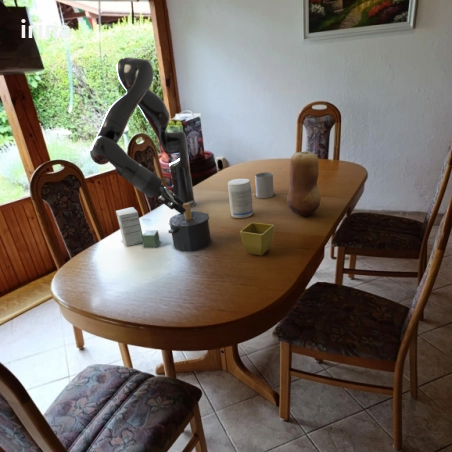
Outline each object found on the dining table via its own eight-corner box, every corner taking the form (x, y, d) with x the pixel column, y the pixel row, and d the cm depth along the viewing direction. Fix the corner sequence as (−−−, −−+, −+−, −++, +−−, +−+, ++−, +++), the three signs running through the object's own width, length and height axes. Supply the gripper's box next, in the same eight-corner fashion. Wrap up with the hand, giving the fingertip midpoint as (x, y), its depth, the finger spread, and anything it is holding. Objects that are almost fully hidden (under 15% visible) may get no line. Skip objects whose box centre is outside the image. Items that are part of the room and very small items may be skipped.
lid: (160, 225, 147) (157, 207, 144) (188, 212, 157) (185, 195, 153) (190, 231, 139) (187, 213, 135) (217, 217, 148) (215, 200, 145)
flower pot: (263, 259, 135) (262, 234, 130) (241, 255, 139) (239, 231, 134) (275, 249, 141) (274, 224, 136) (253, 245, 145) (251, 222, 141)
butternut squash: (326, 212, 167) (328, 149, 154) (308, 222, 159) (309, 157, 146) (298, 207, 175) (298, 147, 162) (280, 216, 167) (278, 155, 154)
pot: (161, 250, 150) (156, 226, 145) (195, 231, 162) (192, 209, 157) (188, 257, 142) (184, 232, 137) (222, 237, 154) (219, 214, 149)
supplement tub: (257, 214, 172) (255, 180, 165) (239, 220, 168) (236, 186, 161) (244, 209, 179) (241, 176, 172) (226, 215, 175) (223, 181, 168)
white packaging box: (122, 240, 162) (115, 210, 156) (140, 236, 164) (133, 206, 158) (126, 246, 156) (118, 215, 150) (144, 242, 158) (137, 211, 152)
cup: (254, 197, 193) (252, 177, 188) (259, 192, 199) (258, 172, 194) (270, 198, 190) (270, 177, 184) (275, 193, 196) (275, 172, 191)
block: (144, 247, 154) (141, 235, 151) (148, 242, 158) (145, 230, 155) (156, 247, 153) (153, 235, 150) (160, 242, 157) (157, 230, 154)
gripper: (151, 177, 131) (191, 206, 138) (151, 167, 143) (188, 194, 150) (139, 195, 133) (178, 223, 140) (140, 184, 145) (176, 210, 152)
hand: (183, 208), depth 145 cm, fingers open, 8 cm apart
